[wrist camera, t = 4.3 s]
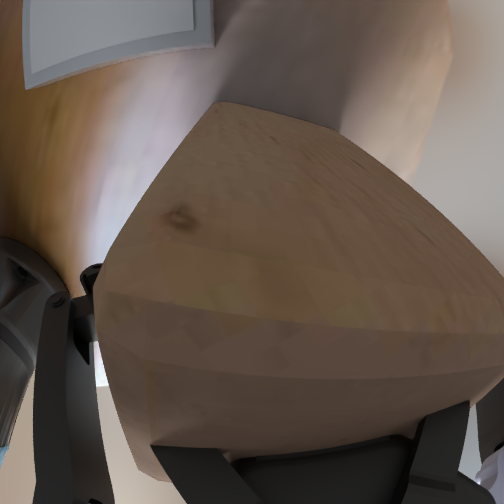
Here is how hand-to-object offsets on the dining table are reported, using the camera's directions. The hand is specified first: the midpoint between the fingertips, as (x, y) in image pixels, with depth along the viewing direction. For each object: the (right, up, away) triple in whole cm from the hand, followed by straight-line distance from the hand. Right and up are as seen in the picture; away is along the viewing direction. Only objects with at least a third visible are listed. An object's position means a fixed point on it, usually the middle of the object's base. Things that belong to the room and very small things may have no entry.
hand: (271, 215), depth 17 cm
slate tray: (-11, +18, -4) cm, 21 cm away
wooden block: (0, +4, +6) cm, 7 cm away
